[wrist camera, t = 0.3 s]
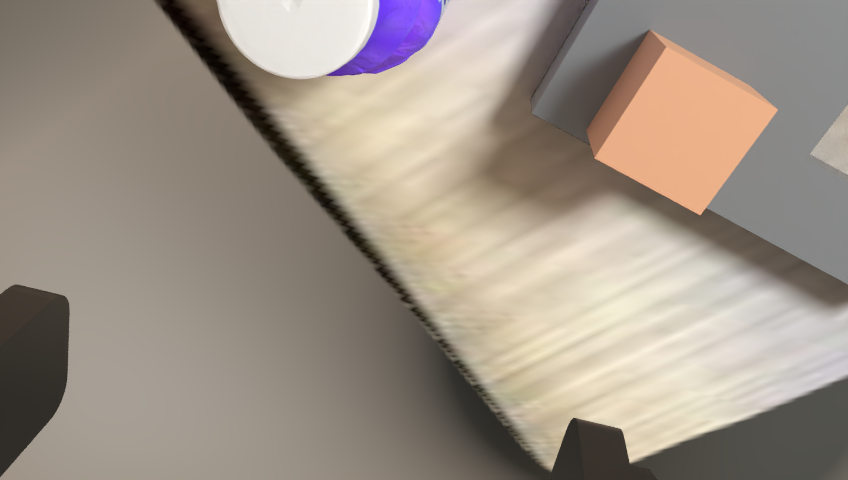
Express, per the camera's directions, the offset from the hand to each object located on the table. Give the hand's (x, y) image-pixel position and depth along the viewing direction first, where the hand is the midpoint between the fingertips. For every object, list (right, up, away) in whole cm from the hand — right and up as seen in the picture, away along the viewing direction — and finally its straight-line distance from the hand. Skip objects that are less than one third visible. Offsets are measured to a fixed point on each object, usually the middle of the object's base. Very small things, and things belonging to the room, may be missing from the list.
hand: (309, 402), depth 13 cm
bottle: (0, +16, +23) cm, 28 cm away
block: (+12, +8, +22) cm, 27 cm away
